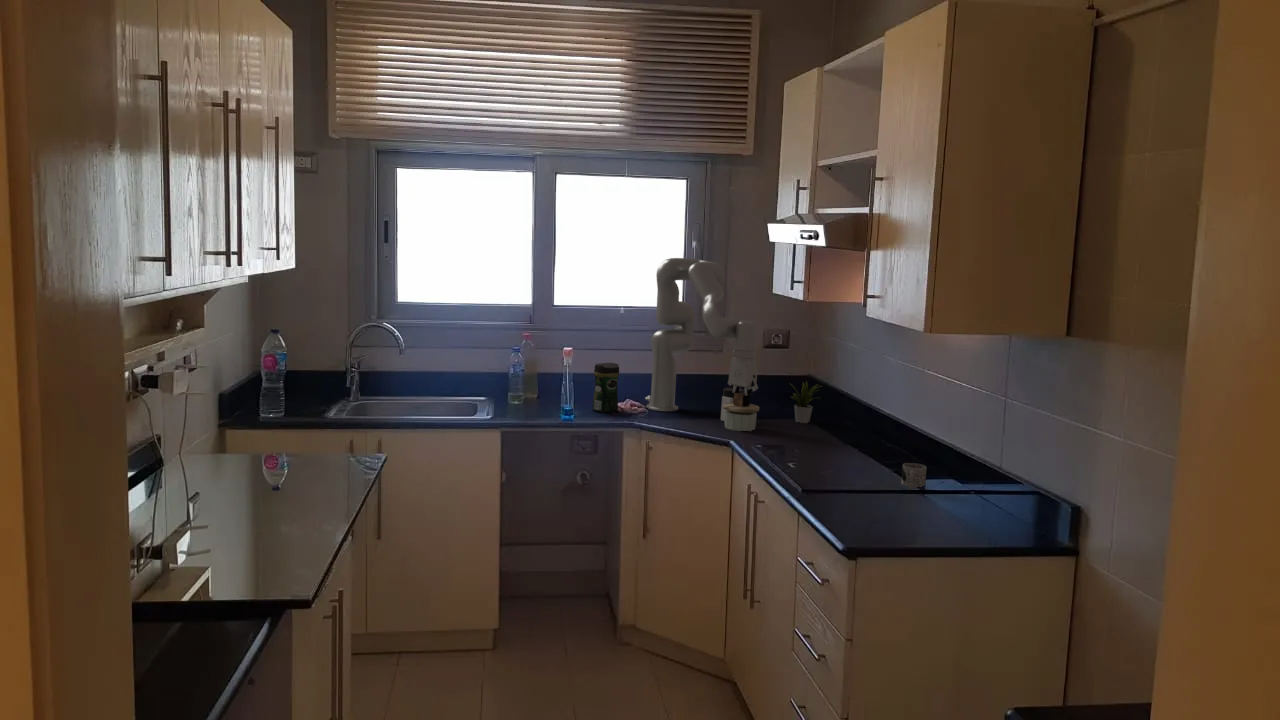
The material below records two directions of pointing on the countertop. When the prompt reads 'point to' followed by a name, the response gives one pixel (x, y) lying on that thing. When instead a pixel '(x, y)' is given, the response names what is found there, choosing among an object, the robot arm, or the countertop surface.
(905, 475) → the mug
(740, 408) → the lid
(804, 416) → the house plant
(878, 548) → the countertop surface
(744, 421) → the bowl
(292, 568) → the countertop surface
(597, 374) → the coffee jar
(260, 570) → the countertop surface
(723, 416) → the jar
